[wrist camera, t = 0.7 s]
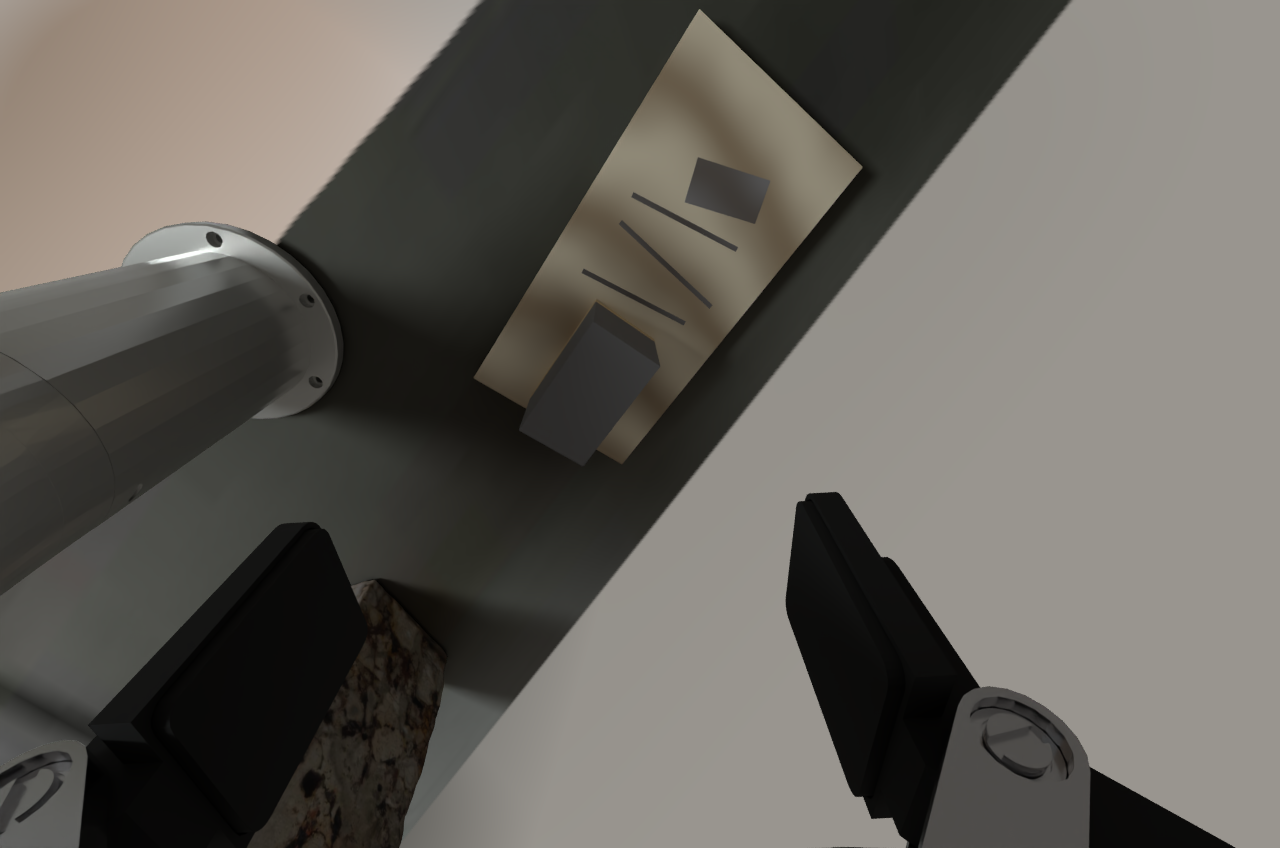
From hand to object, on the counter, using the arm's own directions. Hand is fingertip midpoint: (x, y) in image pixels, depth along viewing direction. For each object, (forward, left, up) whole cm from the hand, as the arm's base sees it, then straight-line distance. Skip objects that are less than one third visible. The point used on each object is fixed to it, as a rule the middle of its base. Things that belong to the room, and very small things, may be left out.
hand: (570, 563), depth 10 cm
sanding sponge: (-2, -4, -24) cm, 24 cm away
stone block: (-29, -22, -26) cm, 44 cm away
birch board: (+3, 0, -25) cm, 26 cm away
